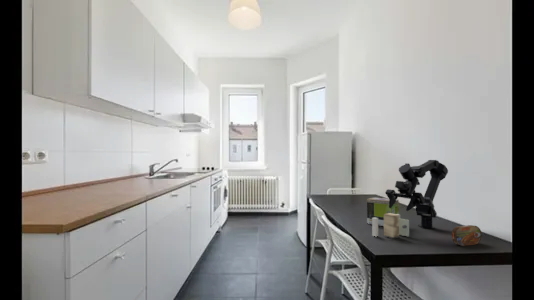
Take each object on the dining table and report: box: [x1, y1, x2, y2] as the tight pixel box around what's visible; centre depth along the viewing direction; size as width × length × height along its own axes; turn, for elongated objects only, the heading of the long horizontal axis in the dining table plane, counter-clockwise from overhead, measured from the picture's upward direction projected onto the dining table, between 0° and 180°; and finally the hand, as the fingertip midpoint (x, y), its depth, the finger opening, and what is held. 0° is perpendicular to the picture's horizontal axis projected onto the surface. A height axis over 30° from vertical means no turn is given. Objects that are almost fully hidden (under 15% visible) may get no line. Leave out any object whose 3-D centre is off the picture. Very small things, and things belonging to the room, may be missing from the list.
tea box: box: [366, 197, 400, 227], centre depth 175 cm, size 15×10×15 cm, turn 45°
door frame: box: [371, 213, 401, 238], centre depth 155 cm, size 22×2×9 cm, turn 126°
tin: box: [451, 224, 482, 247], centre depth 137 cm, size 15×3×8 cm, turn 106°
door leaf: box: [399, 217, 410, 238], centre depth 152 cm, size 10×2×8 cm, turn 36°
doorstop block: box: [383, 213, 400, 239], centre depth 149 cm, size 5×5×11 cm
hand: (398, 209), depth 152 cm, fingers open, 9 cm apart
